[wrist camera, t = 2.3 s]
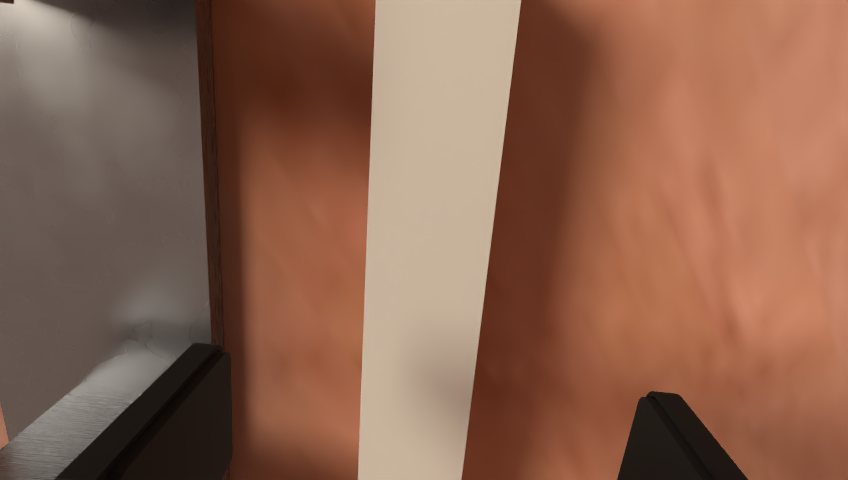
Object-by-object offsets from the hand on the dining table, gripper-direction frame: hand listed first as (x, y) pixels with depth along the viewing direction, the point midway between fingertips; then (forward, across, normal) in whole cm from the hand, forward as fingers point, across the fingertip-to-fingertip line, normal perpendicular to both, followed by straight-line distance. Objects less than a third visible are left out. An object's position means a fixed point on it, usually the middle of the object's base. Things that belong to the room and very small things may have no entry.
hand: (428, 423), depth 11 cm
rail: (+11, 0, -1) cm, 11 cm away
